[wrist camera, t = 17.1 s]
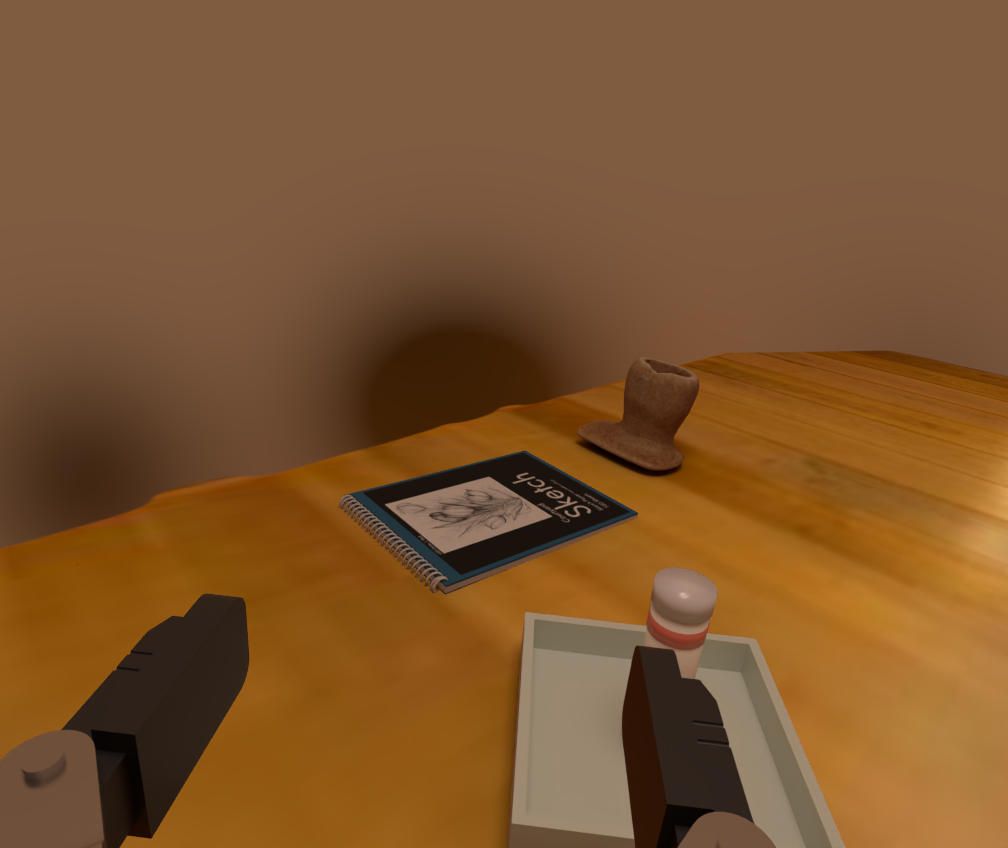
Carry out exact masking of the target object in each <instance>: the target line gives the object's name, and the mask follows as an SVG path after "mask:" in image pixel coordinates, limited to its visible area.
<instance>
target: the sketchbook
mask: <svg viewBox="0 0 1008 848" xmlns="http://www.w3.org/2000/svg"><path fill="white" fill-rule="evenodd" d="M343 499H344V501H343V502H342V500H343ZM341 502H342V504H341ZM343 503H345V504H346V505H345V508H343ZM339 506H340V507H341V508H342V509H344V511H345V512H347V510H346V507H347V506H348V507H349V509H348V515H351V517H352V518H354V517H353V514H354V512H355V513H356V516H355V521H356V522H357V516H359V517H360V518H359V521H358V523H359V525H361V523H360V521H361V519H362V520H363V523H362V527H363V528H365V527H364V524H365V522H366V523H367V526H366V531H367V532H368V526H370V527H371V529H370V531H369V532H370V535H372V529H373V530H374V531H375V532H374V535H373V537H374V539H376V533H378V534H379V535H378V538H377V541H378V542H380V540H379V538H380V536H381V537H382V538H383V539H382V541H381V544H382V546H384V544H383V541H384V540H386V541H387V542H386V545H385V548H386V549H388V547H387V545H388V543H389V544H390V545H391V546H390V549H389V551H390V553H392V547H393V548H394V549H395V551H394V557H397V556H396V551H398V552H399V555H398V561H401V560H400V556H401V555H402V556H403V557H404V558H403V560H402V564H403V565H405V563H404V561H405V559H407V560H408V562H407V569H409V563H411V564H412V565H413V566H412V568H411V572H412V573H414V571H413V569H414V567H415V568H417V571H416V577H419V576H418V572H419V571H420V572H421V573H422V574H421V576H420V580H421V581H423V576H425V577H427V578H426V580H425V585H426V586H428V584H427V581H428V579H429V580H430V581H431V582H432V583H431V585H430V590H433V593H436V591H435V586H437V587H438V588H439V589H440V590H441V591H442V592H443V593H444V594H447V593H450V592H452V591H455V590H457V589H460V588H462V587H465V586H467V585H470V584H472V583H475V582H477V581H480V580H482V579H485V578H487V577H490V576H492V575H495V574H497V573H500V572H502V571H505V570H507V569H510V568H512V567H515V566H517V565H520V564H522V563H525V562H527V561H530V560H532V559H535V558H538V557H540V556H543V555H545V554H548V553H550V552H553V551H555V550H558V549H560V548H563V547H565V546H568V545H570V544H573V543H575V542H578V541H580V540H583V539H585V538H588V537H590V536H593V535H595V534H598V533H600V532H603V531H605V530H608V529H610V528H613V527H615V526H618V525H620V524H623V523H625V522H628V521H630V520H633V519H635V518H637V516H638V513H637V512H635V511H634V510H632V509H630V508H628V507H626V506H624V505H623V504H621V503H619V502H617V501H615V500H614V499H612V498H610V497H608V496H606V495H605V494H603V493H601V492H599V491H597V490H595V489H594V488H592V487H590V486H588V485H586V484H585V483H583V482H581V481H579V480H577V479H576V478H574V477H572V476H570V475H568V474H566V473H565V472H563V471H561V470H559V469H557V468H556V467H554V466H552V465H550V464H548V463H546V462H545V461H543V460H541V459H539V458H537V457H536V456H534V455H532V454H530V453H528V452H527V451H521V452H517V453H513V454H509V455H505V456H501V457H497V458H493V459H489V460H485V461H481V462H477V463H473V464H469V465H465V466H461V467H457V468H453V469H449V470H444V471H440V472H436V473H432V474H428V475H424V476H420V477H416V478H412V479H408V480H404V481H400V482H396V483H392V484H388V485H384V486H380V487H376V488H371V489H367V490H363V491H359V492H355V493H351V494H347V495H344V496H343V497H342V498H341V500H340V502H339ZM350 510H352V513H351V514H350ZM433 584H434V585H433ZM432 586H433V589H432Z"/></svg>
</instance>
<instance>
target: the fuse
mask: <svg viewBox="0 0 1008 848" xmlns="http://www.w3.org/2000/svg"><path fill="white" fill-rule="evenodd" d="M717 594H718V593H717V588H716V586H715V585H714V583H713V582H712V581H711V580H710V579H708V578H707V577H705V576H704V575H702V574H700V573H698V572H695V571H692V570H689V569H685V568H666V569H663V570H661V571H659V572H658V573H657V574H656V576H655V580H654V585H653V590H652V595H651V601H652V603H651V605H650V609H649V614H648V619H647V627H646V632H645V637H644V642H643V646H647V647H655V648H664V649H672V650H674V651H675V653H676V657H677V661H678V665H679V669H680V673H681V677H682V678H689V679H695V677H696V673H697V669H698V665H699V661H700V657H701V652H702V648H703V644H704V642H705V639H706V635H707V631H708V627H709V620H710V618H711V617H712V614H713V610H714V606H715V602H716V598H717Z"/></svg>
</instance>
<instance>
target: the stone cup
mask: <svg viewBox="0 0 1008 848" xmlns="http://www.w3.org/2000/svg"><path fill="white" fill-rule="evenodd" d="M698 391H699V380H698V377H697V376H696V375H695V374H694V373H693V372H691V371H689V370H687V369H685V368H682V367H679V366H677V365H674V364H671V363H667V362H664V361H659V360H657V359H653V358H648V357H641V358H639V359H637V360H636V361H635V362H634V363H633V364H632V366H631V367H630V369H629V372H628V375H627V378H626V384H625V391H624V414H623V420H622V421H621V422H620V423H616V422H610V421H594V422H590V423H588V424H586V425H584V426H582V427H581V428H580V429H579V430H578V432H577V435H578V436H580V437H582V438H584V439H585V440H587V441H589V442H591V443H593V444H594V445H596V446H598V447H600V448H602V449H604V450H606V451H608V452H610V453H612V454H614V455H616V456H618V457H620V458H622V459H624V460H626V461H628V462H631V463H633V464H636V465H638V466H640V467H643V468H646V469H649V470H654V471H663V470H669V469H673V468H675V467H677V466H679V465H680V464H681V463H682V461H683V459H684V457H683V455H682V454H681V453H680V452H679V451H678V450H677V449H676V448H675V447H674V445H673V439H674V436H675V434H676V432H677V430H678V429H679V427H680V426H681V424H682V423H683V421H684V420H685V418H686V417H687V415H688V414H689V412H690V410H691V408H692V406H693V403H694V401H695V399H696V397H697V394H698Z"/></svg>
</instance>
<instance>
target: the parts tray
mask: <svg viewBox="0 0 1008 848" xmlns="http://www.w3.org/2000/svg"><path fill="white" fill-rule="evenodd" d="M646 627H647V626H641V625H632V624H623V623H615V622H606V621H598V620H589V619H580V618H572V617H563V616H555V615H546V614H537V613H529V612H525V620H524V628H523V636H522V645H521V656H520V670H519V685H518V699H517V713H516V728H515V742H514V756H513V771H512V785H511V800H510V814H509V828H508V843H507V848H635V841H634V832H633V824H632V816H631V807H630V799H629V791H628V782H627V774H626V765H625V757H624V749H623V740H622V711H623V703H624V698H625V693H626V688H627V683H628V678H629V673H630V667H631V662H632V657H633V653H634V649H635V647H636V646H637V645H638V646H643V642H644V637H645V632H646ZM695 679H698V680H701V682H702V683H703V684H704V686H705V687H706V688H707V689H708V691H709V692H710V693H711V694H712V696H713V697H714V698H715V699H716V701H717V704H718V707H719V710H720V714H721V717H722V720H723V723H724V725H723V727H724V728H725V730H726V733H727V736H728V740H729V747H730V748H731V750H732V753H733V756H734V759H735V763H736V766H737V769H738V773H739V776H740V779H741V782H742V786H743V789H744V792H745V795H746V799H747V802H748V805H749V809H750V812H751V815H752V818H753V821H754V824H755V825H756V826H757V827H759V828H760V829H761V830H762V831H763V832H764V833H765V834H766V835H767V836H768V837H769V838H770V839H771V841H772V842H773V843H774V845H775V846H776V848H845V846H844V843H843V841H842V839H841V836H840V834H839V832H838V829H837V827H836V825H835V822H834V820H833V818H832V815H831V813H830V811H829V808H828V806H827V804H826V801H825V799H824V797H823V794H822V792H821V790H820V787H819V785H818V783H817V780H816V778H815V776H814V773H813V771H812V769H811V766H810V764H809V762H808V759H807V757H806V755H805V752H804V750H803V748H802V745H801V743H800V741H799V738H798V736H797V734H796V731H795V729H794V727H793V724H792V722H791V720H790V717H789V715H788V713H787V710H786V708H785V706H784V703H783V701H782V699H781V696H780V694H779V692H778V689H777V687H776V685H775V682H774V680H773V678H772V675H771V673H770V671H769V668H768V666H767V664H766V661H765V659H764V657H763V654H762V652H761V650H760V647H759V645H758V643H757V640H756V639H752V638H744V637H735V636H727V635H718V634H709V633H707V635H706V639H705V642H704V644H703V648H702V652H701V657H700V661H699V665H698V669H697V673H696V677H695Z"/></svg>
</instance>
